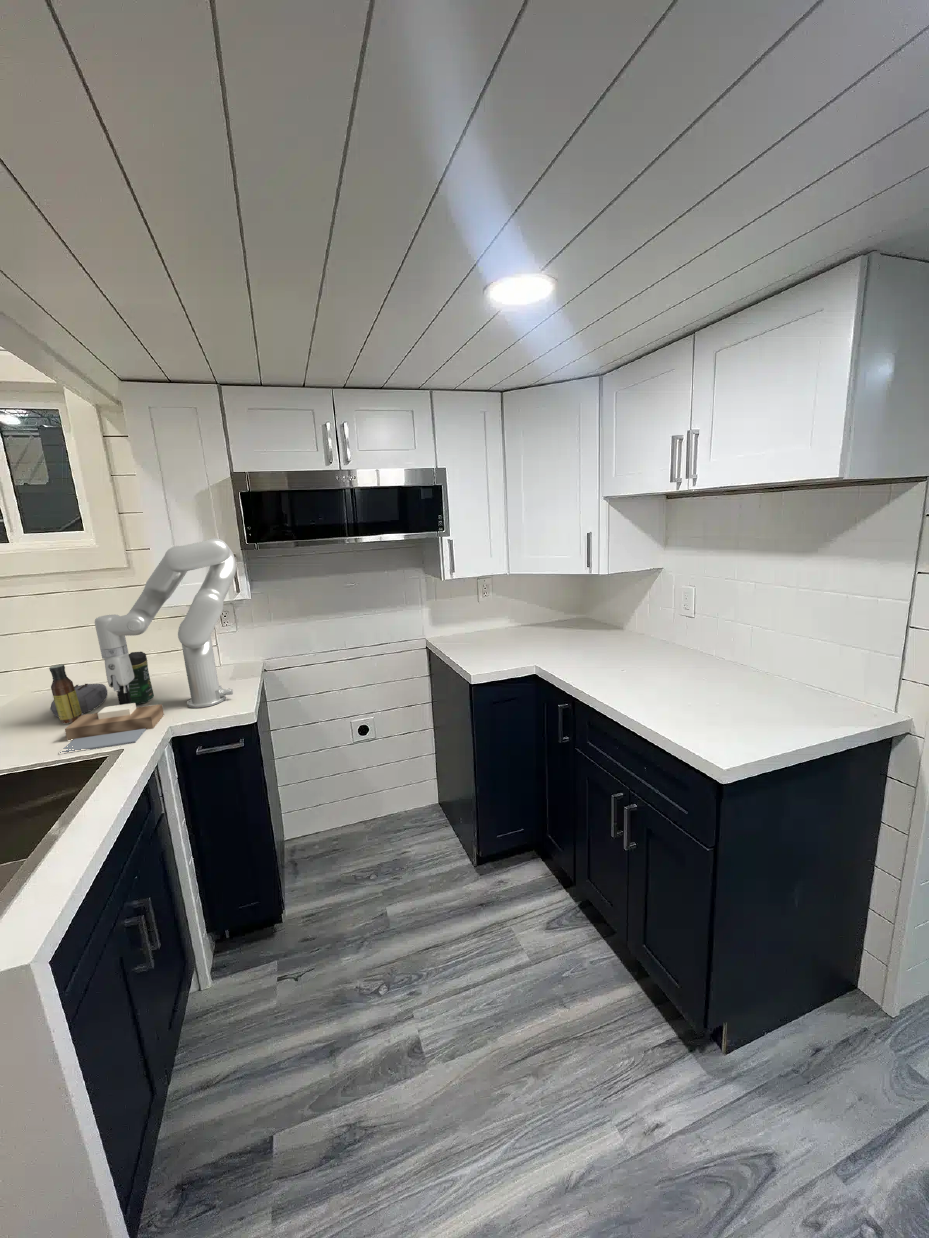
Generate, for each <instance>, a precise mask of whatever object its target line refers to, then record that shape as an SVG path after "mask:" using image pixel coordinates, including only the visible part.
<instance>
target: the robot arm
mask: <svg viewBox="0 0 929 1238" xmlns="http://www.w3.org/2000/svg"><path fill="white" fill-rule="evenodd" d="M208 567H209V568H208ZM203 568H208V571H207V573H206V576H205V578H204V580H203V582H202V584H201V586H200V588H199V590H198V591H197V593H196V594H195V596H194V597H193V600H192V602H191V605H190V607H189V609H188V610H187V613H186V614H185V617H184V619H183V620H182V621H181V622H180V624H179V626H178V631H177V638H178V641H179V642H180V644H181V649H182V653H183V654H182V655H183V661H184V667H185V671H186V676H187V683H188V687H189V693H190V694H189V695H190V699H189V700H187V702H186V704H187V707H188V708H191V709H192V708H193V709H201V708H208V707H211V706H215V705H219V704H220V703H223V701H225V700H226V696H230V695H233V694H234V689H232V688H222V687H223V686H222V685H220V684H219V679H218V673H217V666H216V660H215V653H214V649H213V648H214V647H213V641H212V633H213V632H214V629H215V627H216V625H217V623H218V621H219V620H220V618H221V615H222V614H223V610H224V601H225V599H226V596H227V594H228V593H229V591H230V588H231V585H232V583H233V582H234V578H235V575H236V572H237V562H236V558H235V555H234V552H233V550H231V548H230V547H229V545H228V544H227V543H226V542H225V541H224V540H222V539H220V538H217V537H211V538H208V539H207V540H202V541H198V542H194V543H188V544H184V545H174V546H172V547H170V548H168V549H167V551H166V552H165V553H164V555H163V557H162V558H161V560H160V561H159V563H158V565H157V566H156V567H155V569H154V570H153V572H152V573H151V575H150V576H149V578H148V579H147V581H146V582H145V584H144V588H143V590H142V592H141V594H140V595H139V597H138V599H137V600H136V601H135V603H134V604H133V605H132V607H131V608H130V610H129V611H128V613H126V614H124V615H118V614H105V615H101V616H98V617H96V618H95V620H94V626H95V630H96V635H97V641H98V645H99V649H100V654H101V658H102V660H104V667H105V676H106V681H107V684H108V687H110V688H112V689H113V692H114V693H115V694H116V696H117V701H118V705H123V704H129V703H131V697H130V692H129V683H130V682H131V681H132V680H133V679H134V672H133V668H132V665H131V661H130V658H129V655H128V654H130V653H129V649H128V645H127V644H128V643H127V639H126V637H127V636H128V637H129V636H131V637H132V636H134V637H135V636H140V635H142V634H143V633H145V632H146V631H147V630H148V628H149V626H150V625H151V623H152V622H153V620H154V618H155V617H156V615H157V614H158V612H159V611H160V609H161V608H162V607H163V605H164V604H165V603H166V601H167V600H169V598H170V597H172V595H173V594H174V593H175V590H176V589H177V588H178V586H179V584H180V583H181V581H182V580H183V579H184V578H185V576H186V575H187V573H188V572H189V571H194V570H199V569H203Z"/></svg>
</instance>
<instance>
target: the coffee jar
mask: <svg viewBox="0 0 929 1238" xmlns="http://www.w3.org/2000/svg"><path fill="white" fill-rule="evenodd" d="M128 655H129V658H130V661H131V665H132V668H133V672H134V679H133V680H132V681H131V682H130V683H129V692H130V697H131V703H135V704H136V706H139V705H140V704H141V705H142V704H146V703H148V702H150V701H151V700H153V699H154V697H155V694H154V689H153V686H152V681H151V677H150V672H149V666H148V657H147V654H146V653H145V652H144V651H132V652H130V653H129V654H128ZM131 703H129V704H131Z"/></svg>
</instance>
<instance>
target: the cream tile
mask: <svg viewBox="0 0 929 1238" xmlns="http://www.w3.org/2000/svg"><path fill="white" fill-rule="evenodd" d="M136 708H137V705H136V704H135V703H131V704H123V705H119V704H117V705H110V706H104V707H103V708H102V709H101V710H99V711H98V712H97V713H98V718H99V719H104V718H111V717H119V716H126V715H131V714H132V713H133V712H134V710H135V709H136Z"/></svg>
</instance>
